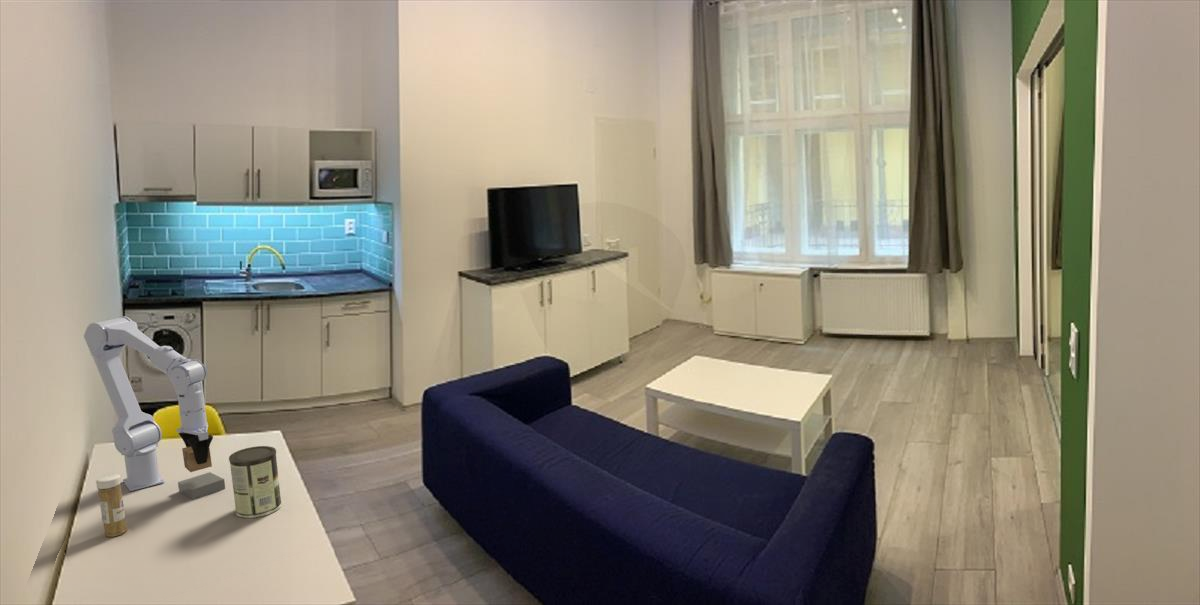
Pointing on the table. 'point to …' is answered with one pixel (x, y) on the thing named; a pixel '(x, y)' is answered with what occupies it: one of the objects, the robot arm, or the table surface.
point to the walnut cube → (191, 462)
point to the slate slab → (201, 485)
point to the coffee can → (255, 481)
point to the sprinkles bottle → (111, 504)
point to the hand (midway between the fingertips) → (198, 460)
